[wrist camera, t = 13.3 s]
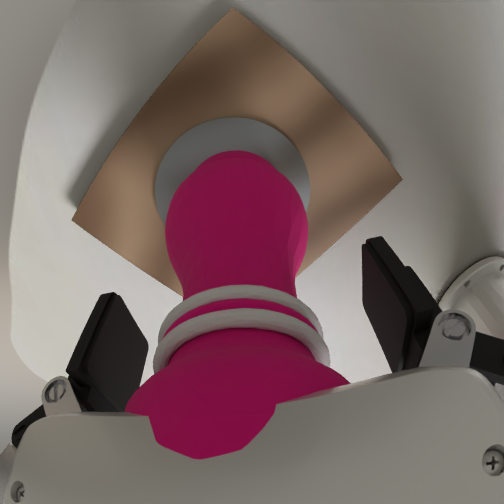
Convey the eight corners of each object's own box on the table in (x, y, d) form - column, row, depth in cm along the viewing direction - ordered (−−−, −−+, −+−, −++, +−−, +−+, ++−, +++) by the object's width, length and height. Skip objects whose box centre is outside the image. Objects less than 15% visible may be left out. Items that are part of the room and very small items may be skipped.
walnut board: (393, 172, 21) (405, 181, 20) (234, 316, 27) (235, 331, 26) (233, 12, 15) (233, 6, 13) (79, 211, 21) (69, 222, 20)
